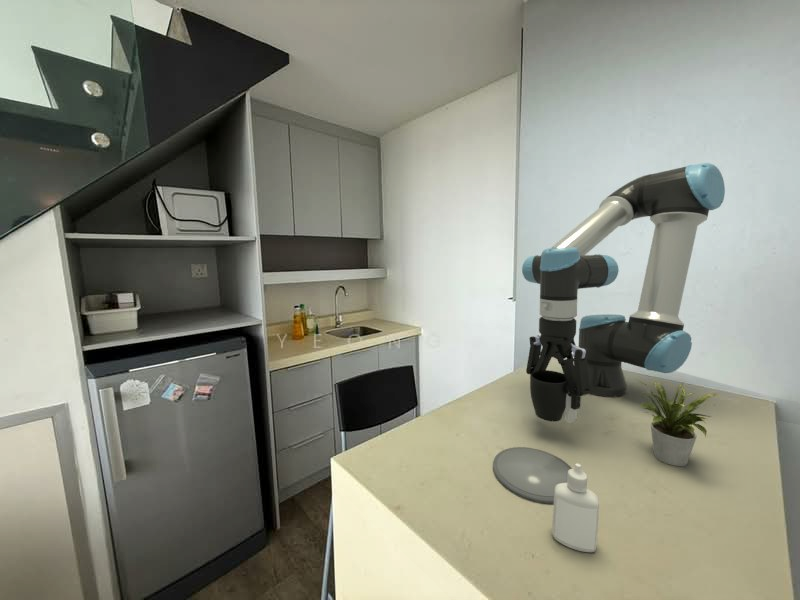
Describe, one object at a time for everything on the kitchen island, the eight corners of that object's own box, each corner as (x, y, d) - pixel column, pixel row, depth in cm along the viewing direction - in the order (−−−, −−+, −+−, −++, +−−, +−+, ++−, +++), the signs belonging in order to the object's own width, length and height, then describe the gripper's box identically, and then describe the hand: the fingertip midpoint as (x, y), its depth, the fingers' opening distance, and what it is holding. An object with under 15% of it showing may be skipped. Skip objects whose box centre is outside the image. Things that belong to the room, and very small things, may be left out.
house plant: (610, 453, 67) (616, 379, 65) (630, 430, 76) (636, 364, 73) (703, 491, 56) (714, 403, 54) (714, 458, 65) (724, 382, 63)
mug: (588, 415, 73) (590, 375, 72) (550, 428, 69) (551, 386, 67) (557, 401, 81) (559, 365, 79) (521, 411, 76) (522, 373, 75)
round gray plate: (532, 443, 71) (532, 440, 71) (598, 487, 57) (598, 483, 57) (477, 462, 65) (477, 457, 65) (535, 515, 51) (536, 510, 51)
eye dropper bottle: (585, 563, 43) (591, 482, 42) (546, 534, 48) (550, 460, 46) (601, 546, 46) (607, 469, 44) (562, 520, 50) (566, 449, 49)
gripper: (511, 312, 79) (510, 398, 83) (589, 328, 61) (584, 439, 64) (533, 309, 82) (531, 392, 86) (615, 323, 64) (609, 429, 67)
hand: (554, 412), depth 75 cm, fingers closed on mug, 8 cm apart
